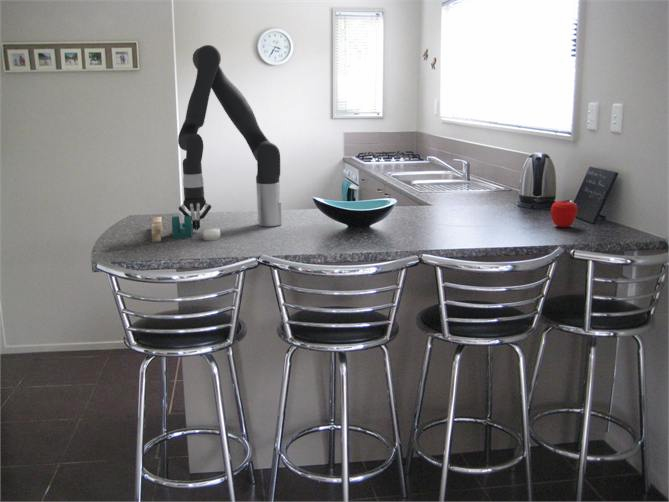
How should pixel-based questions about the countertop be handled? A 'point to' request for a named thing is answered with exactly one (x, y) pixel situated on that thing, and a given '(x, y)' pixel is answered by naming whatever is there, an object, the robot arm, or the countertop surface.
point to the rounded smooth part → (211, 233)
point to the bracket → (182, 227)
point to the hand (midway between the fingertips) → (196, 229)
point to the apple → (563, 213)
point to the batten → (157, 229)
